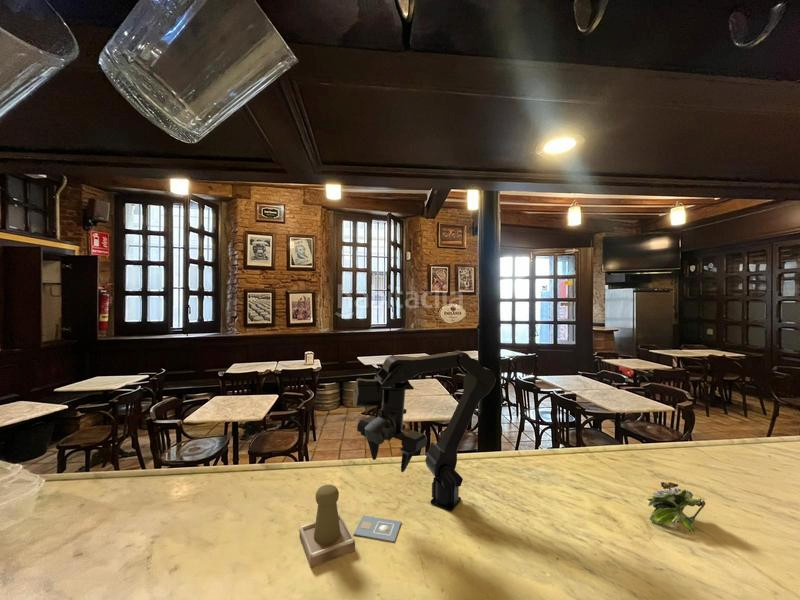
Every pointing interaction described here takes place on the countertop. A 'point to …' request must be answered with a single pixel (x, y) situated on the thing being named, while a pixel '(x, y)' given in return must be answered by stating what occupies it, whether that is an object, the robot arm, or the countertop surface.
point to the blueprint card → (378, 528)
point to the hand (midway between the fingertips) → (388, 465)
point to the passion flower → (673, 506)
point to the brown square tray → (326, 552)
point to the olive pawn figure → (327, 515)
